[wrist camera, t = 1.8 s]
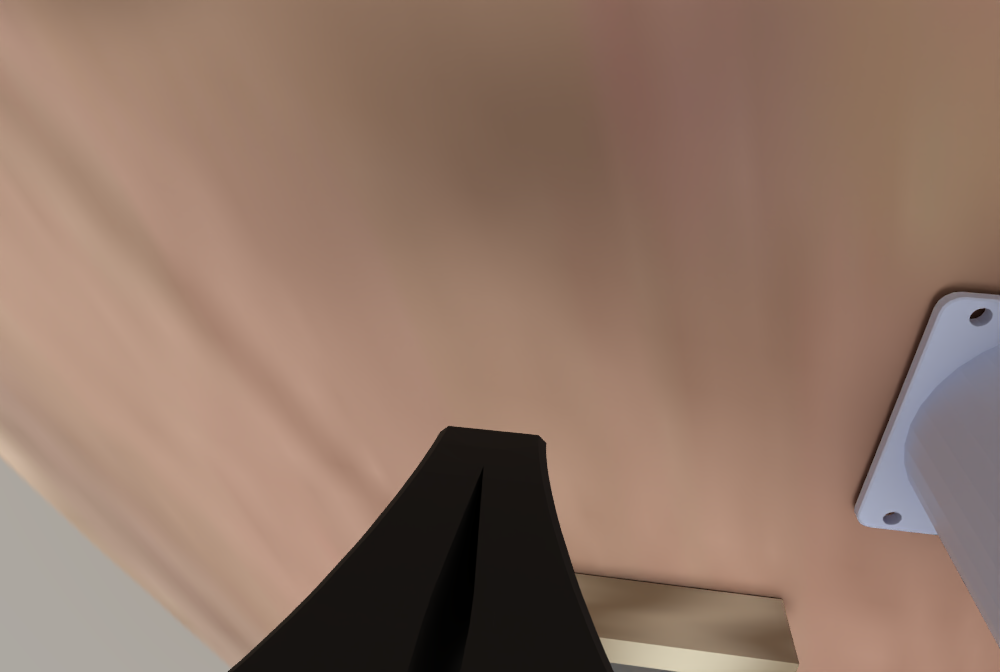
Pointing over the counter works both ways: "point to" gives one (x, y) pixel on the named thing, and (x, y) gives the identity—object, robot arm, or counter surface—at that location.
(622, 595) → the channel
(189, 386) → the counter surface
